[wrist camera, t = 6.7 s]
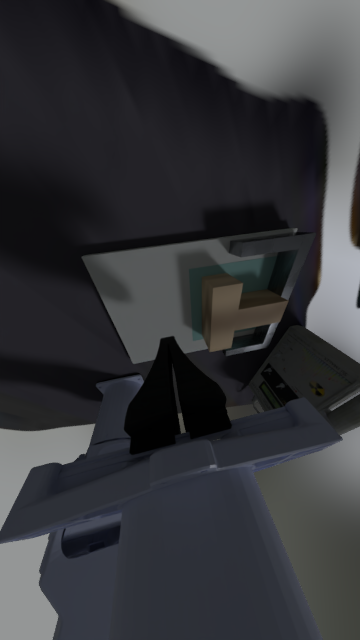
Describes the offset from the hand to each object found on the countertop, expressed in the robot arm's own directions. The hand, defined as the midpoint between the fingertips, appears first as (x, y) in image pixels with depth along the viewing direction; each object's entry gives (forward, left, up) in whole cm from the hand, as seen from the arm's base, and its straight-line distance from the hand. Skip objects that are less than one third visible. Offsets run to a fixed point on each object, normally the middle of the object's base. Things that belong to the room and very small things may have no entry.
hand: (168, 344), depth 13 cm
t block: (0, -10, -5) cm, 11 cm away
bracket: (0, -12, -5) cm, 13 cm away
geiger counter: (-20, -22, -6) cm, 30 cm away
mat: (0, -5, -6) cm, 8 cm away
